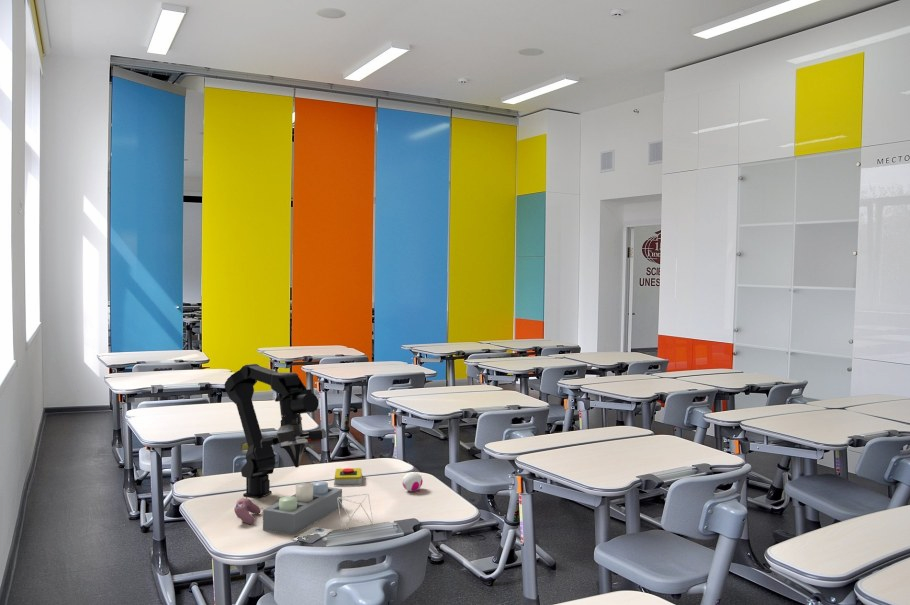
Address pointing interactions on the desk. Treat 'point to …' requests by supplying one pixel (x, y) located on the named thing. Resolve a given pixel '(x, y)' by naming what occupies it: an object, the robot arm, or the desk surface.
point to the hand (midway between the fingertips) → (297, 467)
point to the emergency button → (348, 477)
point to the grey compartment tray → (301, 513)
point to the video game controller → (246, 510)
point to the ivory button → (304, 492)
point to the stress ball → (412, 481)
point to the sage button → (288, 503)
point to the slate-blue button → (320, 488)
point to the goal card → (313, 532)
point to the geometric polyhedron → (356, 509)
